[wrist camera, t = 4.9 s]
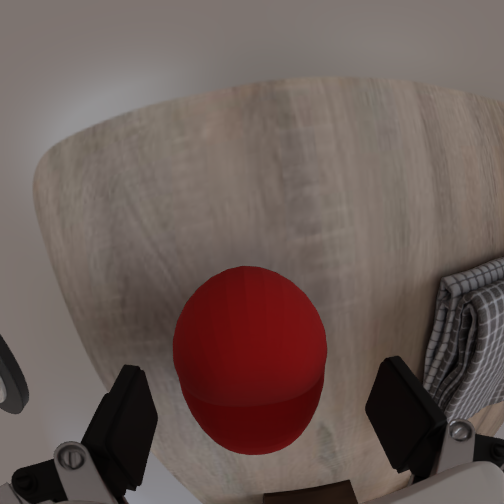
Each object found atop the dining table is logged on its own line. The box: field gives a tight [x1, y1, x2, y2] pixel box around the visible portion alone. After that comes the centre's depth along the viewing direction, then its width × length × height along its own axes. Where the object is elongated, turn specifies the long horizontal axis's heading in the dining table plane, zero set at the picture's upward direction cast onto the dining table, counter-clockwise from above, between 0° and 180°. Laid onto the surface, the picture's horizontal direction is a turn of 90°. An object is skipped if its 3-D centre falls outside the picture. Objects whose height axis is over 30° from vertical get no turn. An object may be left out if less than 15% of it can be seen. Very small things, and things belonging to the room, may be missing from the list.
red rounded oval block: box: [173, 266, 327, 455], centre depth 13 cm, size 9×7×10 cm
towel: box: [423, 257, 504, 423], centre depth 17 cm, size 15×18×8 cm
